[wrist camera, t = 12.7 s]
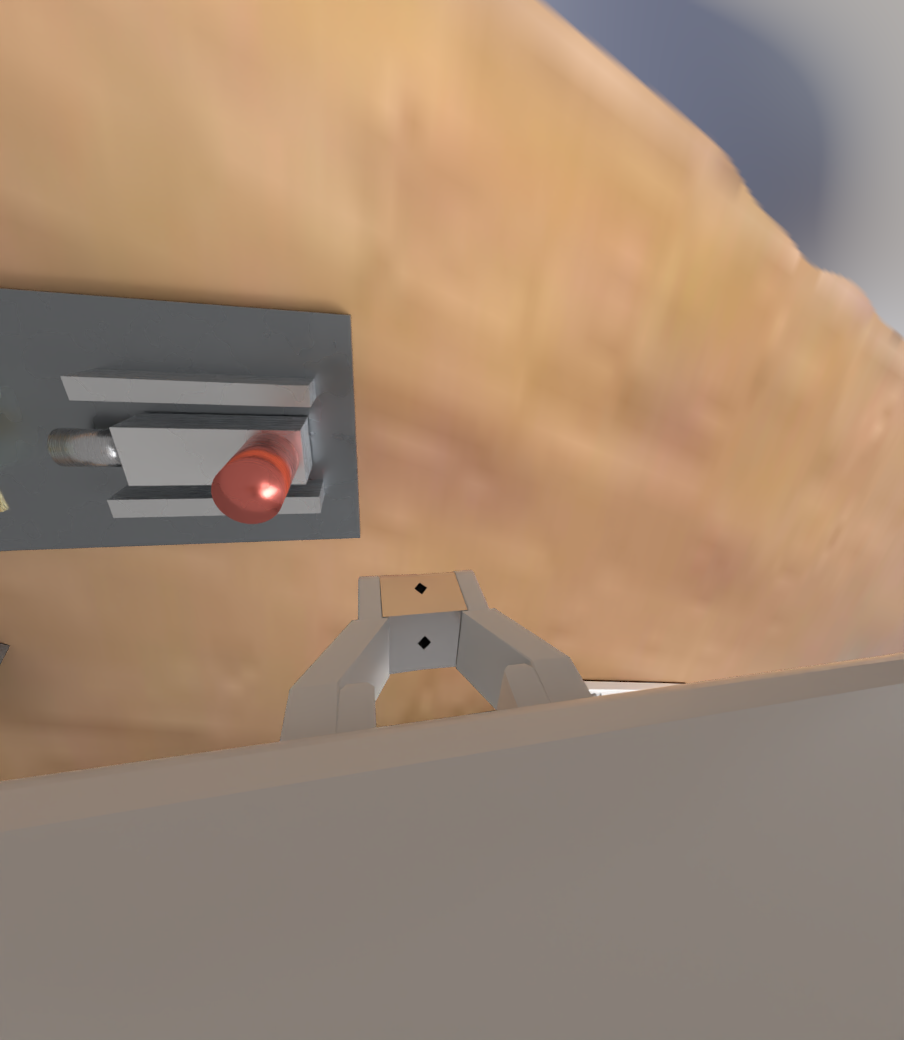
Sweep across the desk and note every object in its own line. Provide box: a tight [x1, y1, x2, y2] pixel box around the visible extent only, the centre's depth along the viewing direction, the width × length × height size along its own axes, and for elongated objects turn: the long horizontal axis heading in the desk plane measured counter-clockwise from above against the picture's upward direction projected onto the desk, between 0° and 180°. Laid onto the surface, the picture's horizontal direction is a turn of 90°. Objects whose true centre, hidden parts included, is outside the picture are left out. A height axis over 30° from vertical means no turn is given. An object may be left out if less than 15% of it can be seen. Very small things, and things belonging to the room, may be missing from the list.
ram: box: [47, 413, 312, 524], centre depth 18 cm, size 11×3×7 cm, turn 86°
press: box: [0, 288, 360, 551], centre depth 18 cm, size 27×13×7 cm, turn 86°
